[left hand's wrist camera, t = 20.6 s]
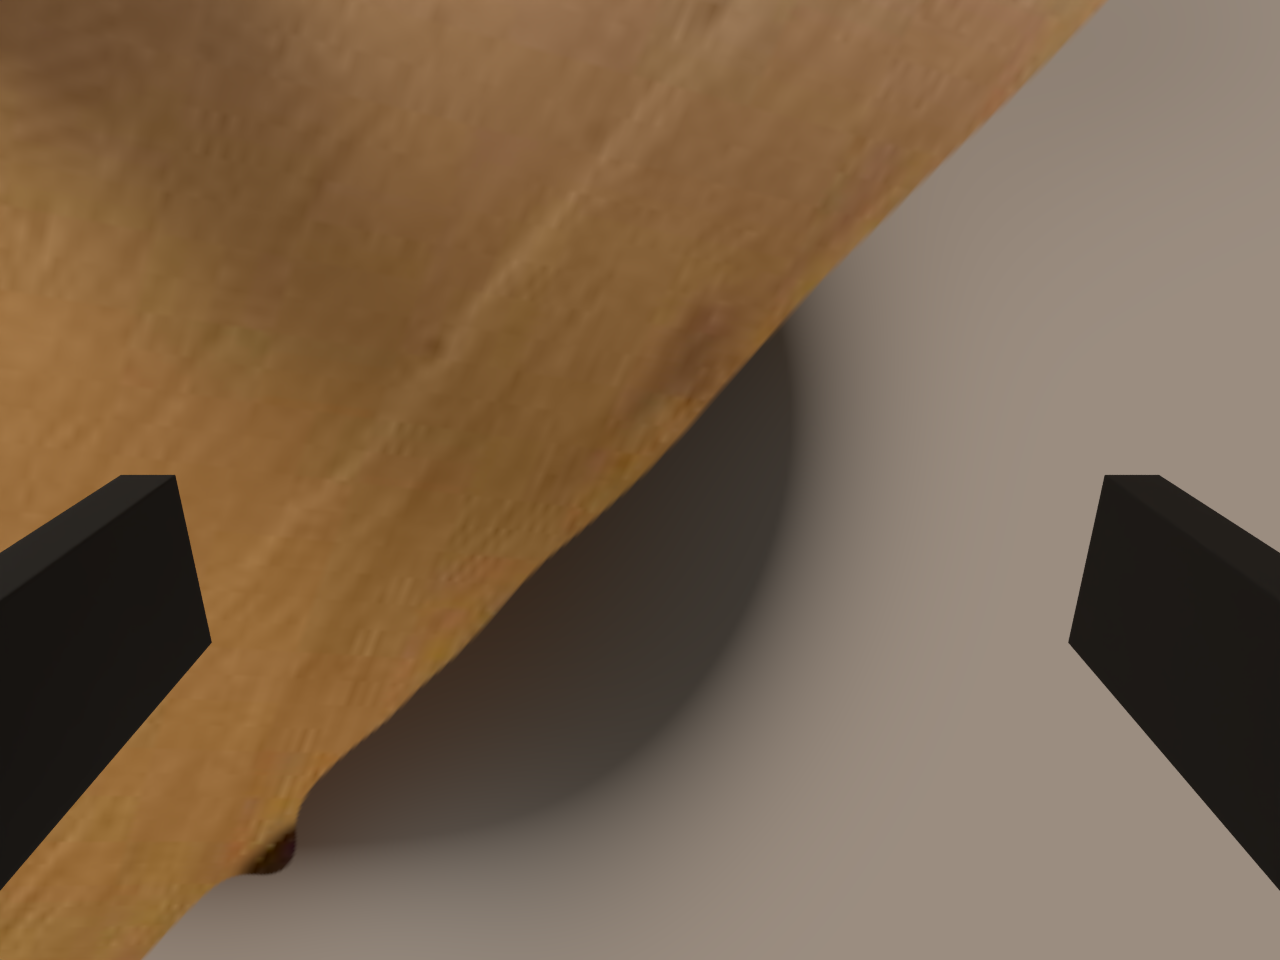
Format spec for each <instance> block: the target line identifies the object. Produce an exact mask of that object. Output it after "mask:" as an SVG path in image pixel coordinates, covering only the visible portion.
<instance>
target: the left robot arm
mask: <svg viewBox="0 0 1280 960" xmlns="http://www.w3.org/2000/svg"><path fill="white" fill-rule="evenodd" d="M211 643H212V642H211V637H210V632H209V628H208V623H207V619H206V614H205V610H204V605H203V600H202V596H201V591H200V587H199V582H198V577H197V573H196V568H195V564H194V559H193V554H192V550H191V545H190V541H189V536H188V531H187V527H186V522H185V518H184V513H183V509H182V504H181V499H180V495H179V490H178V486H177V481H176V476H175V475H120V476H119V477H117V478H116V479H114V480H112V481H111V482H109V483H108V484H106V485H105V486H103V487H102V488H100V489H99V490H97V491H95V492H94V493H92V494H91V495H89V496H88V497H86V498H85V499H83V500H81V501H80V502H78V503H77V504H75V505H74V506H72V507H71V508H69V509H68V510H66V511H64V512H63V513H61V514H60V515H58V516H57V517H55V518H54V519H52V520H50V521H49V522H47V523H46V524H44V525H43V526H41V527H40V528H38V529H37V530H35V531H33V532H32V533H30V534H29V535H27V536H26V537H24V538H23V539H21V540H20V541H18V542H16V543H15V544H13V545H12V546H10V547H9V548H7V549H6V550H4V551H2V552H1V553H0V890H1V889H2V888H3V887H4V886H5V884H6V883H7V882H8V881H9V880H10V879H11V877H12V876H13V875H14V874H15V873H16V871H17V870H18V869H19V868H20V867H21V866H22V864H23V863H24V862H25V861H26V860H27V859H28V857H29V856H30V855H31V854H32V853H33V852H34V850H35V849H36V848H37V847H38V846H39V844H40V843H41V842H42V841H43V840H44V839H45V837H46V836H47V835H48V834H49V833H50V832H51V830H52V829H53V828H54V827H55V826H56V825H57V823H58V822H59V821H60V820H61V819H62V818H63V816H64V815H65V814H66V813H67V812H68V810H69V809H70V808H71V807H72V806H73V805H74V803H75V802H76V801H77V800H78V799H79V798H80V796H81V795H82V794H83V793H84V792H85V791H86V789H87V788H88V787H89V786H90V785H91V783H92V782H93V781H94V780H95V779H96V778H97V776H98V775H99V774H100V773H101V772H102V771H103V769H104V768H105V767H106V766H107V765H108V764H109V762H110V761H111V760H112V759H113V758H114V757H115V755H116V754H117V753H118V752H119V751H120V749H121V748H122V747H123V746H124V745H125V744H126V742H127V741H128V740H129V739H130V738H131V737H132V735H133V734H134V733H135V732H136V731H137V730H138V728H139V727H140V726H141V725H142V724H143V723H144V721H145V720H146V719H147V718H148V717H149V715H150V714H151V713H152V712H153V711H154V710H155V708H156V707H157V706H158V705H159V704H160V703H161V701H162V700H163V699H164V698H165V697H166V696H167V694H168V693H169V692H170V691H171V690H172V688H173V687H174V686H175V685H176V684H177V683H178V681H179V680H180V679H181V678H182V677H183V676H184V674H185V673H186V672H187V671H188V670H189V669H190V667H191V666H192V665H193V664H194V663H195V662H196V660H197V659H198V658H199V657H200V656H201V654H202V653H203V652H204V651H205V650H206V649H207V647H208V646H209V645H210V644H211ZM1068 643H1069V644H1070V645H1071V646H1072V647H1073V649H1074V650H1075V651H1076V652H1077V653H1078V654H1079V656H1080V657H1081V658H1082V659H1083V660H1084V661H1085V663H1086V664H1087V665H1088V666H1089V667H1090V669H1091V670H1092V671H1093V672H1094V673H1095V674H1096V676H1097V677H1098V678H1099V679H1100V680H1101V681H1102V683H1103V684H1104V685H1105V686H1106V687H1107V688H1108V690H1109V691H1110V692H1111V693H1112V694H1113V696H1114V697H1115V698H1116V699H1117V700H1118V701H1119V703H1120V704H1121V705H1122V706H1123V707H1124V708H1125V710H1126V711H1127V712H1128V713H1129V714H1130V715H1131V717H1132V718H1133V719H1134V720H1135V721H1136V722H1137V724H1138V725H1139V726H1140V727H1141V728H1142V729H1143V731H1144V732H1145V733H1146V734H1147V735H1148V737H1149V738H1150V739H1151V740H1152V741H1153V742H1154V744H1155V745H1156V746H1157V747H1158V748H1159V749H1160V751H1161V752H1162V753H1163V754H1164V755H1165V757H1166V758H1167V759H1168V760H1169V761H1170V762H1171V764H1172V765H1173V766H1174V767H1175V768H1176V769H1177V771H1178V772H1179V773H1180V774H1181V775H1182V776H1183V778H1184V779H1185V780H1186V781H1187V782H1188V783H1189V785H1190V786H1191V787H1192V788H1193V789H1194V791H1195V792H1196V793H1197V794H1198V795H1199V796H1200V798H1201V799H1202V800H1203V801H1204V802H1205V803H1206V805H1207V806H1208V807H1209V808H1210V809H1211V810H1212V812H1213V813H1214V814H1215V815H1216V816H1217V818H1218V819H1219V820H1220V821H1221V822H1222V823H1223V825H1224V826H1225V827H1226V828H1227V829H1228V830H1229V832H1230V833H1231V834H1232V835H1233V836H1234V837H1235V839H1236V840H1237V841H1238V842H1239V843H1240V844H1241V846H1242V847H1243V848H1244V849H1245V850H1246V852H1247V853H1248V854H1249V855H1250V856H1251V857H1252V859H1253V860H1254V861H1255V862H1256V863H1257V864H1258V866H1259V867H1260V868H1261V869H1262V870H1263V871H1264V873H1265V874H1266V875H1267V876H1268V877H1269V879H1270V880H1271V881H1272V882H1273V883H1274V884H1275V886H1276V887H1277V888H1278V889H1279V890H1280V553H1279V552H1278V551H1276V550H1274V549H1273V548H1271V547H1270V546H1268V545H1267V544H1265V543H1264V542H1262V541H1260V540H1259V539H1257V538H1256V537H1254V536H1253V535H1251V534H1250V533H1248V532H1247V531H1245V530H1243V529H1242V528H1240V527H1239V526H1237V525H1236V524H1234V523H1233V522H1231V521H1229V520H1228V519H1226V518H1225V517H1223V516H1222V515H1220V514H1219V513H1217V512H1216V511H1214V510H1212V509H1211V508H1209V507H1208V506H1206V505H1205V504H1203V503H1202V502H1200V501H1198V500H1197V499H1195V498H1194V497H1192V496H1191V495H1189V494H1188V493H1186V492H1185V491H1183V490H1181V489H1180V488H1178V487H1177V486H1175V485H1174V484H1172V483H1171V482H1169V481H1167V480H1166V479H1164V478H1163V477H1161V476H1160V475H1105V476H1104V481H1103V486H1102V490H1101V495H1100V499H1099V504H1098V509H1097V513H1096V518H1095V522H1094V527H1093V531H1092V536H1091V541H1090V545H1089V550H1088V554H1087V559H1086V564H1085V568H1084V573H1083V577H1082V582H1081V587H1080V591H1079V596H1078V600H1077V605H1076V610H1075V614H1074V619H1073V623H1072V628H1071V632H1070V637H1069V642H1068Z"/></svg>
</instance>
